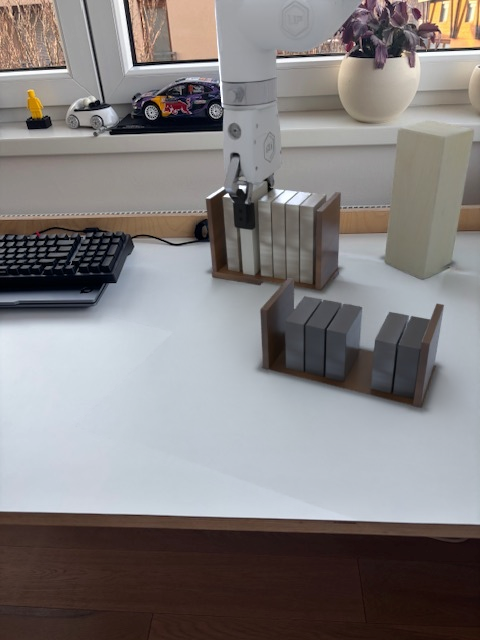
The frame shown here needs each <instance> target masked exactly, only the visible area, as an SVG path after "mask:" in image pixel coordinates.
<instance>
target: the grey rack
mask: <svg viewBox="0 0 480 640" xmlns="http://www.w3.org/2000/svg"><path fill="white" fill-rule="evenodd" d="M444 309H445V304H442V303H436V304H435V306H434V309H433V311H432V314H431V317H430V318H425V317H419V316H415V315H411V316H410V315H409V314H404V313H398V312H393V311H388V313H387V315H386V317H385V319H384V321H383V323H382V325H381V327H380V329H379V331H378V333H377V335H376V337H375V338H374V344H373V345H374V346H373V351H372V350H367V349H362V348H360V347H361V333H362V317H363V306H359V305H354V304H349V303H342V302H338V301H333V300H328V299H322V298H317V297H311V296H305V295H304V296H303V297H302V298H301V300H300V301H299V302H298V304H297V305H295V286H294V279H292V278H288V279H287V280H286V281H285V282H284V283H283V284H280V287H278V289H277V290H276V291H275V292H273V294H272V296H270V298H269V299H268V300H267V301H266V302H265V303H264V305H262V307H261V308H260V310H259V313H260V335H261V354H262V357H261V358H262V366H261V369H265V370H268V371H272V372H275V373H280V374H285V375H288V376H293V377H296V378H300V379H303V380H308V381H312V382H316V383H319V384H324V385H328V386H332V387H336V388H338V389H339V388H340V389H344V390H347V391H352V392H356V393H359V394H364V395H367V396H372V397H376V398H378V399H379V398H380V399H384V400H388V401H392V402H395V403H398V404H399V403H400V404H404V405H408V406H412V407H415V408H419V409H423V408H424V405H425V402H426V398H427V396H428V393H429V389H430V386H431V383H432V380H433V377H434V374H435V370H436V368H437V365H436V358H437V352H438V347H439V340H440V334H441V327H442V321H443V315H444Z"/></svg>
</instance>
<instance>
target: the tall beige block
mask: <svg viewBox="0 0 480 640" xmlns="http://www.w3.org/2000/svg"><path fill="white" fill-rule="evenodd" d="M474 135H475V129H474V128H471V127H468V126H467V127H466V126H463V125H456V124H451V123H447V122H446V123H445V122H439V121H436V120H423V121H419V122H415V123H412V124H408V125H404V126H399V128H398V129H397V135H396V143H395V144H396V145H395V146H396V147H395V154H394V165H393V176H392V183H391V186H392V187H391V193H390V204H389V213H388V222H387V231H386V232H387V233H386V242H385V250H384V251H385V253H384V263H385V264H386V265H389V266H391V267H393V268H394V269H397V270H400V271H402V272H404V273H406V274H409V275H410V276H412V277H415V278H418V279H420V280H426V279H428V278H431V277H432V276H435V275H438V274H440V273H442V272H443V271H446V270H448V269H450V268H451V267H450V266H447V265H449V264H452V261H453V257H454V256H453V255H454V250H455V244H456V238H457V234H458V233H457V232H458V228H459V220H460V216H461V210H462V203H463V197H464V193H465V186H466V180H467V175H468V170H469V164H470V158H471V152H472V147H473V143H474V142H473V141H474Z"/></svg>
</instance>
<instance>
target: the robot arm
mask: <svg viewBox="0 0 480 640" xmlns="http://www.w3.org/2000/svg"><path fill="white" fill-rule="evenodd" d="M364 1H365V0H214V13H215V14H214V16H215V27H216V28H215V29H216V42H217V56H218V57H217V58H218V69H219V71H218V72H219V86H220V97H221V98H220V99H221V107H222V108H223V120H222V121H223V122H222V154H223V155H222V156H223V166H224V167H223V168H224V174H225V181H224V184H223V187H224V189H225V190H226V191H227V192H228V194H229V196H230V197H231V202H232V203H233V213H234V226H235V227H236V228H241V229H248V230H253V229H254V228H255V208H254V203H252V202H251V201H252V192H253V184H254V185H257V184H259V183H260V182H262V181H267V189H268V193H269V192H270V191H271V190H272V189H274V186H275V177H274V175H275V173H276V172H278V170H279V169H280V168H281V167H282V165H283V164H282V163H283V153H282V137H281V125H280V124H281V123H280V115H279V108H278V80H277V79H278V77H277V76H278V74H277V73H278V71H277V51H281V52H290V53H306V52H309V51H311V50H314V49H315V48H317V47H319V46H320V45H322V44H323V43H325V42H327V41H328V40H330V39H331V38H332V37H333V36H334V35H335V34H336V33H337V32H338V31H339V30H340V29H341V27H342V26H343V25H344V24H345V23H346V21H347V20H348V19H349V18H350V17H351V16H352V15H353V14H354V12H355V11H356V10H357V9H358V7H359V6H361V4H362V3H363V2H364ZM241 177H242V178H243V177H244V179H245V180H241V179H240V178H241ZM239 186H246V193H245V192H244V191H243V190H242V189H239Z"/></svg>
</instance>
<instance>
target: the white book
mask: <svg viewBox="0 0 480 640" xmlns="http://www.w3.org/2000/svg"><path fill="white" fill-rule="evenodd" d="M242 190H243V191H244V192H245V193H246V187H245V188H244V189H242ZM267 193H268V189H267V181H262V182H260V183H259V184H257V185H254V184H253V192H252V201H251V202H252V203H254V208H255V228H254V229H253V230H248V229H241V228H240V235H241V250H242V265H243V274H249V275H255V274H256V273H257V272H258V271H259V270H260V269H261V262H260V240H259V218H258V200H259V199H261V198H262V197H263V196H265V195H266V194H267Z"/></svg>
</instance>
